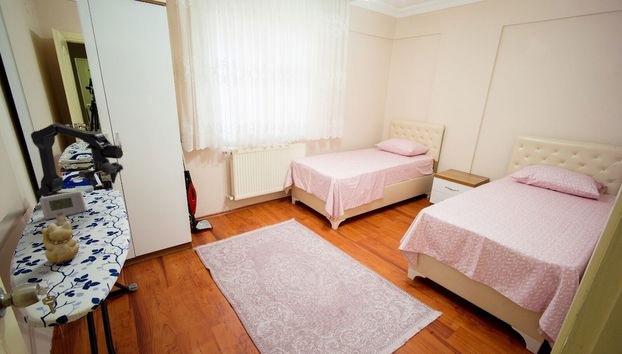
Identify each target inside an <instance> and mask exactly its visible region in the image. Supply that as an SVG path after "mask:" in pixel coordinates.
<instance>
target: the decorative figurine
mask: <svg viewBox="0 0 622 354" xmlns="http://www.w3.org/2000/svg"><path fill="white" fill-rule="evenodd" d="M71 226H72V223H71V222H70V221H67V220H66V222H65V223H64V224H63V225H62V226H58V227H57V226H56V225H55V224H53V223H50V224H48V226H47V227H43V228H42V229H41V233H42V242H43V247H45V251H44V255H45V256H44V257H45V258H46V259H47V261H48V262H49V263H52V265H55V264H60V263H61V264H62V263H65V262H70V261H71V259H73V258H74V257H76V256H77V254H78V253H79V249H80V246H79V244H78V243H77V242H78V241H77V239H75V238H72V235H73V229H71Z"/></svg>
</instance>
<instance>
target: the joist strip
mask: <svg viewBox="0 0 622 354" xmlns="http://www.w3.org/2000/svg"><path fill="white" fill-rule="evenodd" d="M52 224H55V225H56V226H57V227H58V223H57V221H56V222H53V223H52ZM75 228H76V227H74V226H72V225H71V229H72V230H73V229H75Z"/></svg>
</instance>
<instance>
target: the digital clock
mask: <svg viewBox="0 0 622 354" xmlns="http://www.w3.org/2000/svg"><path fill="white" fill-rule="evenodd" d="M39 203H40V207H41V211H42V214H43V217H44V219H45V220H52V219H56V215H57V213H59V212H63V214H65V217H68V216H72V215H76V214H79V213H85V212H86V211H87V210H88V209H87V206H86V202H85V197H84V195H83V191H82V190H78V191H68V192H64V193H58V194H57V195H51V196H47V197H43V196H41V197H40V198H39Z"/></svg>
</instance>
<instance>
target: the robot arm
mask: <svg viewBox="0 0 622 354" xmlns="http://www.w3.org/2000/svg"><path fill="white" fill-rule="evenodd" d="M59 134H61V135H64V136H68V137H71V138H75V139H79V140H82V141H83V142H84V143H86V144H87V146H85V149H87V150H88V149H89V150H91V157H92V158H91V159H90V160H91V162H93V167H92V169H93V170H90V169H83V170H79V171H78V177H79V178H83V179H85V180H86V181H88V182H89V184H90V185H91V186H92V188H93V189H97V185H96V176H95V175H96V174H99V173H104V174H105V175H109V177H110V180H111V183H112V184H115V182H116V179H117V176H118V174H119V173H120V172H122V171H123V170H124V166H123V165H122V164H121V163H120V164H119V162H117V161H116V162H110V160H109V159H122V157H123V154H124V153H123V152H124V151H123V149H122V148H121V147H120V145H119V144H112V143H111V141H110V140H109V139H108V138H107V137H106V136H105V133H103V132H102V131H93V130H91V131H90V130H83V129H78V128H76V127H72V126H68V125H65V124H62V123H51V124H50V125H47V126H46V127H44V128H42V129H39V130H34V131H32V133H30V137H31V142H32V143H33V144H34V146H35V147H36V148H38V152H39V158H40V163H41V164H40V165H41V168H42V174H43V176H42V178H41V180H40V187H39V188H38V190H36V194H37V196H39V197H47V196H51V195H57V194H59V193H58V192H60V191H62V187H63V186H64V184H65V182H64V178H63V176H59V175H58V174H57V167H56V164H55V158H54V151H53V147H54V145H55V142H56V136H58V135H59Z"/></svg>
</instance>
